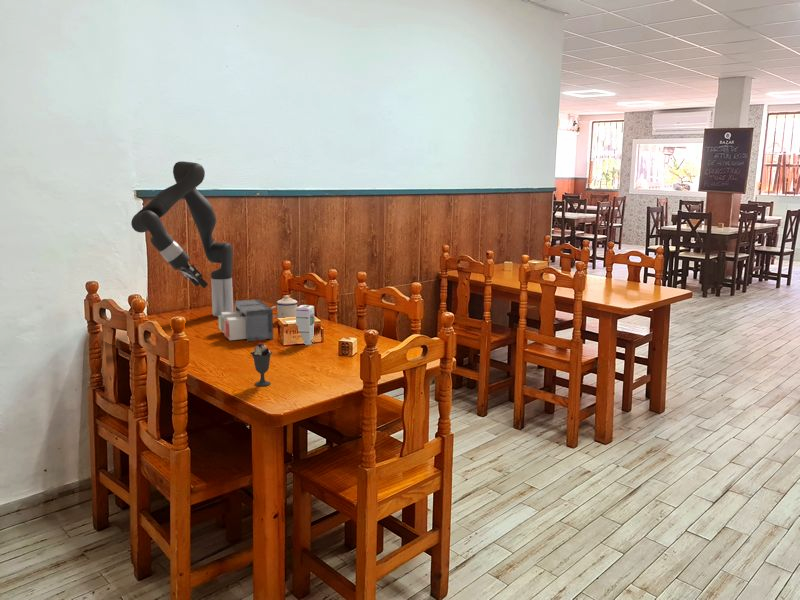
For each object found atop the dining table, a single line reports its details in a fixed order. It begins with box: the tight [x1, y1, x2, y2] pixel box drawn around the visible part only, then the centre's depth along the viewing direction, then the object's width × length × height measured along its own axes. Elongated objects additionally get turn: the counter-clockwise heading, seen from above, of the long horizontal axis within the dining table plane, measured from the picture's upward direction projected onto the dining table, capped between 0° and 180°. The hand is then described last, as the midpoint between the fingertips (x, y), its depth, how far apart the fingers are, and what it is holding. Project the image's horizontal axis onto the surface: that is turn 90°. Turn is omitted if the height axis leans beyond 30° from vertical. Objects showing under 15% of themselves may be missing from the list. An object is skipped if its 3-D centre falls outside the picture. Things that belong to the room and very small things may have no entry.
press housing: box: [234, 298, 274, 342], centre depth 262 cm, size 23×10×12 cm, turn 25°
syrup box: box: [295, 304, 316, 346], centre depth 249 cm, size 6×6×14 cm
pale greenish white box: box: [217, 310, 240, 334], centre depth 264 cm, size 5×9×8 cm, turn 115°
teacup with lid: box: [270, 295, 299, 319], centre depth 284 cm, size 12×9×12 cm
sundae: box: [249, 337, 273, 387], centre depth 200 cm, size 7×7×15 cm
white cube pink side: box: [223, 316, 247, 341], centre depth 255 cm, size 5×9×8 cm, turn 115°
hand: (202, 285), depth 257 cm, fingers open, 8 cm apart
